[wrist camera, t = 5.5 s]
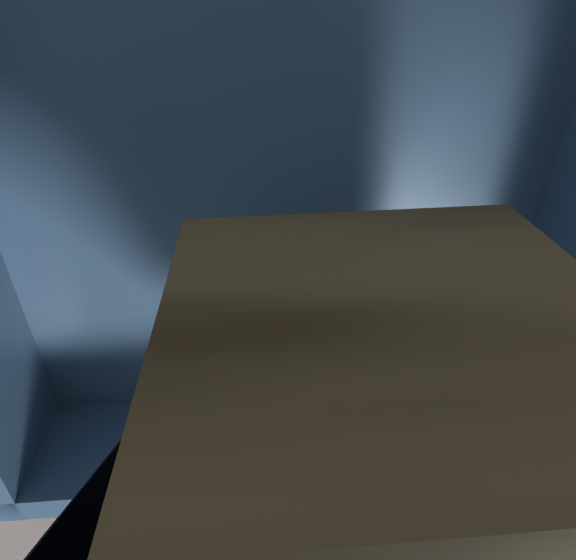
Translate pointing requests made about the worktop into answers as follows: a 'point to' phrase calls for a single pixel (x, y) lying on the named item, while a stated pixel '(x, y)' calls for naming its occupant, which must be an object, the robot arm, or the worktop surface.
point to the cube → (354, 393)
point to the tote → (234, 167)
